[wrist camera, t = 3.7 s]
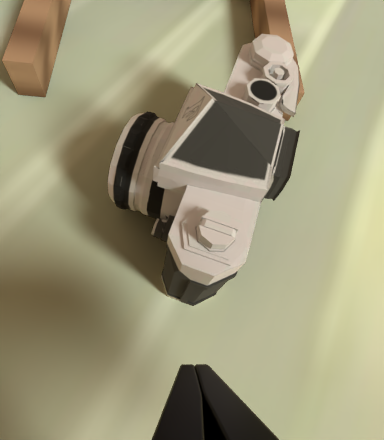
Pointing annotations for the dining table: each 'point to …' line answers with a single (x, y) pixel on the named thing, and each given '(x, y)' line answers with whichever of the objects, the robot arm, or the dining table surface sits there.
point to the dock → (53, 28)
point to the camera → (212, 167)
